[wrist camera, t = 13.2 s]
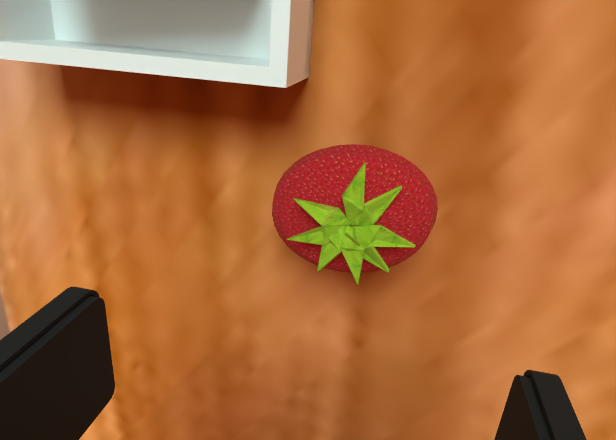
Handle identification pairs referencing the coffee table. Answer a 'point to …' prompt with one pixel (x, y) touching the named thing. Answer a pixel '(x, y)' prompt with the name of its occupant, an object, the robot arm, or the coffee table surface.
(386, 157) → the strawberry
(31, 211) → the coffee table surface
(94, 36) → the tote
